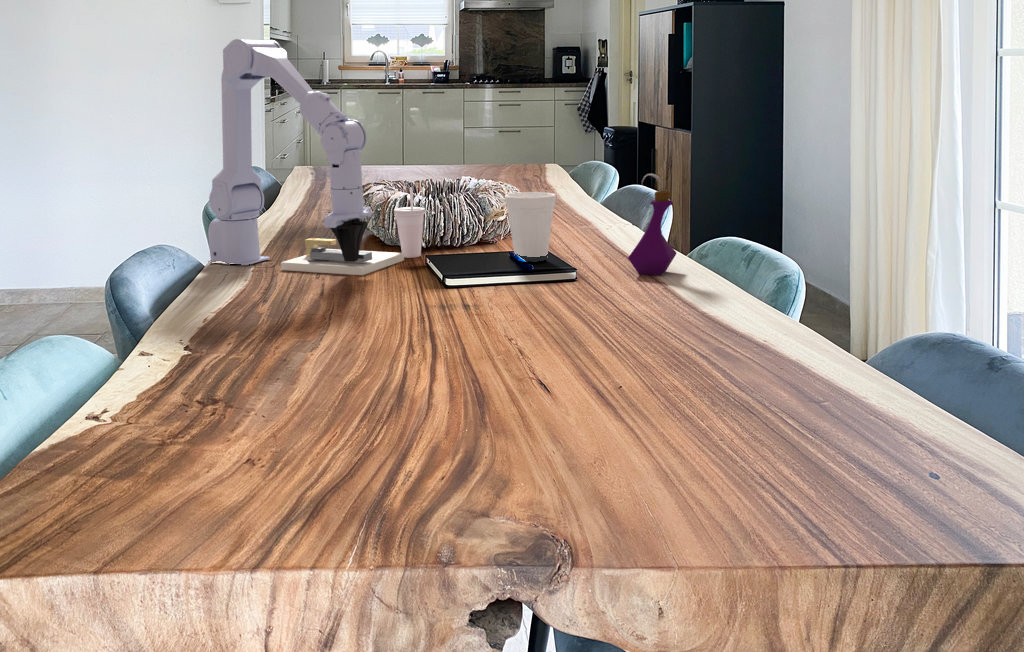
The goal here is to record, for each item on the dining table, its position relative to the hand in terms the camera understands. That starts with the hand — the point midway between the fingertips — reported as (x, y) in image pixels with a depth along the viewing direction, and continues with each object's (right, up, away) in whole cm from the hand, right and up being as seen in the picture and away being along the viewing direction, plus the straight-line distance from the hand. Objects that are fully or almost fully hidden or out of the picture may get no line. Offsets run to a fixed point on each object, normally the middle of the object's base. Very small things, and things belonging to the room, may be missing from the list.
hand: (351, 260), depth 189 cm
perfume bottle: (+56, -3, -5) cm, 56 cm away
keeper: (-8, +2, +11) cm, 14 cm away
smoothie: (+10, +2, +18) cm, 20 cm away
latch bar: (-3, +1, +5) cm, 5 cm away
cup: (+34, 0, +9) cm, 35 cm away
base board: (-3, 0, +9) cm, 10 cm away
